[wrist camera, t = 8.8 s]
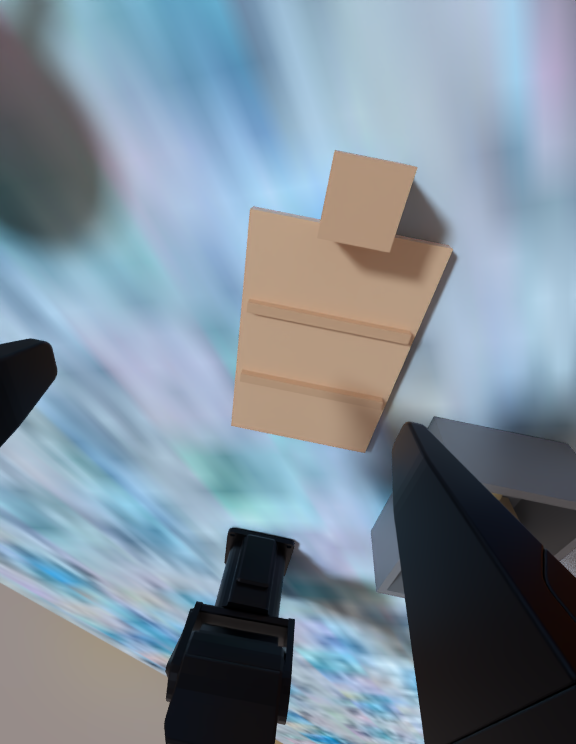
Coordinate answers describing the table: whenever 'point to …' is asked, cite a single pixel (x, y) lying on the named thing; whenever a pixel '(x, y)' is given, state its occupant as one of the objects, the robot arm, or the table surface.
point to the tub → (498, 490)
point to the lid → (332, 307)
